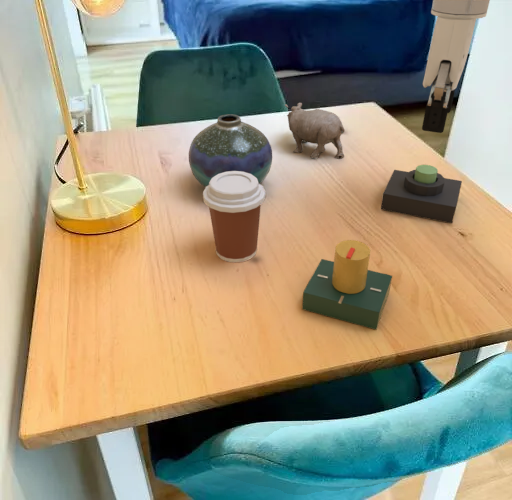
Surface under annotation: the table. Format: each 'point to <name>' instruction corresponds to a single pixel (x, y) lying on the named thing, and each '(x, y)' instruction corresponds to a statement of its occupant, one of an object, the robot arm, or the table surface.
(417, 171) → the green short cylinder
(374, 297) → the panel
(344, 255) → the knob
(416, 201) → the button base
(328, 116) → the rhinoceros figurine
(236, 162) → the vase
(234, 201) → the coffee cup
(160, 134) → the table surface
